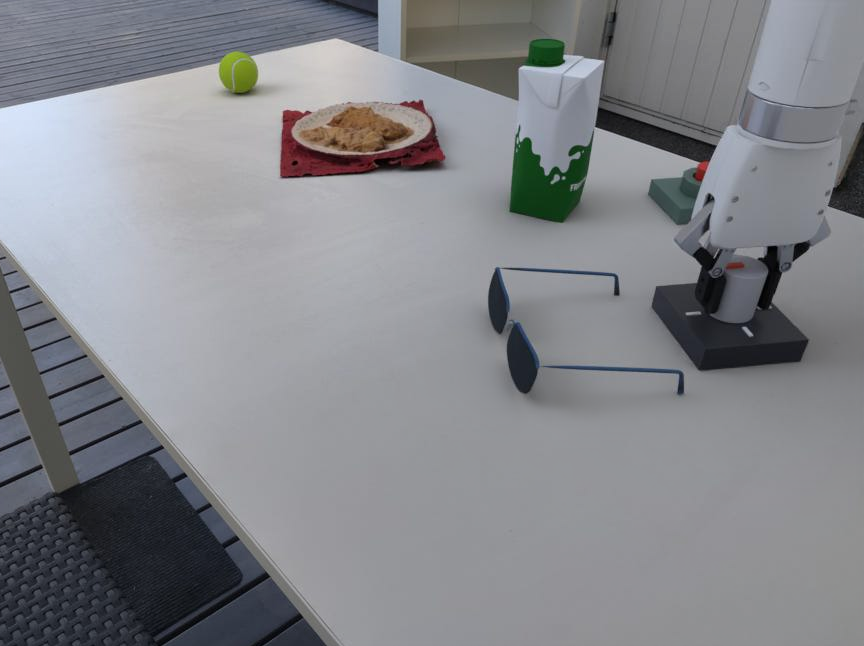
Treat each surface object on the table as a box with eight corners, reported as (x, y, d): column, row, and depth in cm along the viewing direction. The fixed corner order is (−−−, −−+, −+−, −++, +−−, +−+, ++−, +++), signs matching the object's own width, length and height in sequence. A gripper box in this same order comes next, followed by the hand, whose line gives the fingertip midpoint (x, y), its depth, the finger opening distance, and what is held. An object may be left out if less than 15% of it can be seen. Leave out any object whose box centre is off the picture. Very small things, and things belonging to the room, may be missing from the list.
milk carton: (525, 187, 101) (541, 31, 89) (589, 201, 98) (615, 40, 86) (499, 212, 95) (513, 49, 83) (567, 228, 92) (592, 60, 80)
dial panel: (742, 298, 78) (749, 277, 77) (800, 361, 70) (810, 338, 68) (651, 306, 78) (656, 284, 76) (699, 370, 69) (706, 347, 67)
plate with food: (423, 111, 127) (423, 90, 125) (446, 167, 106) (446, 143, 104) (283, 119, 126) (281, 99, 124) (279, 177, 105) (276, 154, 103)
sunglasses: (482, 302, 79) (491, 260, 76) (612, 308, 81) (627, 268, 78) (521, 408, 65) (534, 362, 62) (677, 412, 67) (697, 368, 64)
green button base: (726, 189, 100) (734, 160, 98) (761, 219, 93) (770, 189, 90) (647, 194, 99) (653, 165, 97) (676, 225, 92) (684, 195, 90)
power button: (716, 173, 95) (719, 160, 94) (730, 185, 92) (733, 171, 91) (689, 175, 95) (692, 162, 94) (702, 186, 92) (706, 173, 91)
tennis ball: (215, 91, 137) (209, 51, 133) (248, 83, 140) (244, 44, 136) (232, 100, 133) (227, 60, 128) (267, 92, 136) (262, 52, 132)
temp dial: (739, 297, 74) (754, 250, 71) (762, 321, 71) (779, 273, 67) (696, 300, 74) (710, 253, 70) (717, 325, 70) (732, 277, 67)
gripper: (858, 95, 64) (792, 277, 75) (671, 106, 63) (631, 290, 74) (918, 125, 58) (836, 318, 69) (713, 138, 57) (663, 333, 68)
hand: (731, 302), depth 71 cm, fingers closed on temp dial, 4 cm apart
